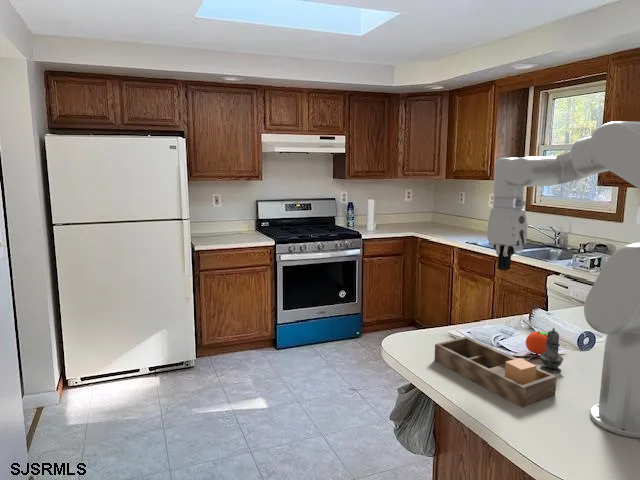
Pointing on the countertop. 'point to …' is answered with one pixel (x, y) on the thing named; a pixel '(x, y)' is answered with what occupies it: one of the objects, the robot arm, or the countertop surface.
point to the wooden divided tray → (492, 371)
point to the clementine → (537, 342)
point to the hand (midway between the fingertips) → (503, 269)
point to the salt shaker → (551, 354)
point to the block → (520, 371)
